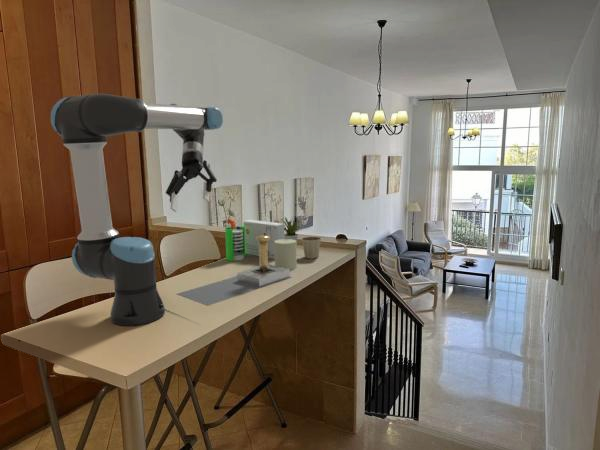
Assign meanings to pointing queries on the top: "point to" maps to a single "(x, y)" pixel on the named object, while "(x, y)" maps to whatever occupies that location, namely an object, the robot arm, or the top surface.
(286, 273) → the grey flat rectangular block
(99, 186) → the robot arm
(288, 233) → the house plant
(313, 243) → the flower pot
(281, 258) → the can
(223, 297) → the mat
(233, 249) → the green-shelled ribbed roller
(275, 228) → the skincare box
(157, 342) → the top surface
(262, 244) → the pin
